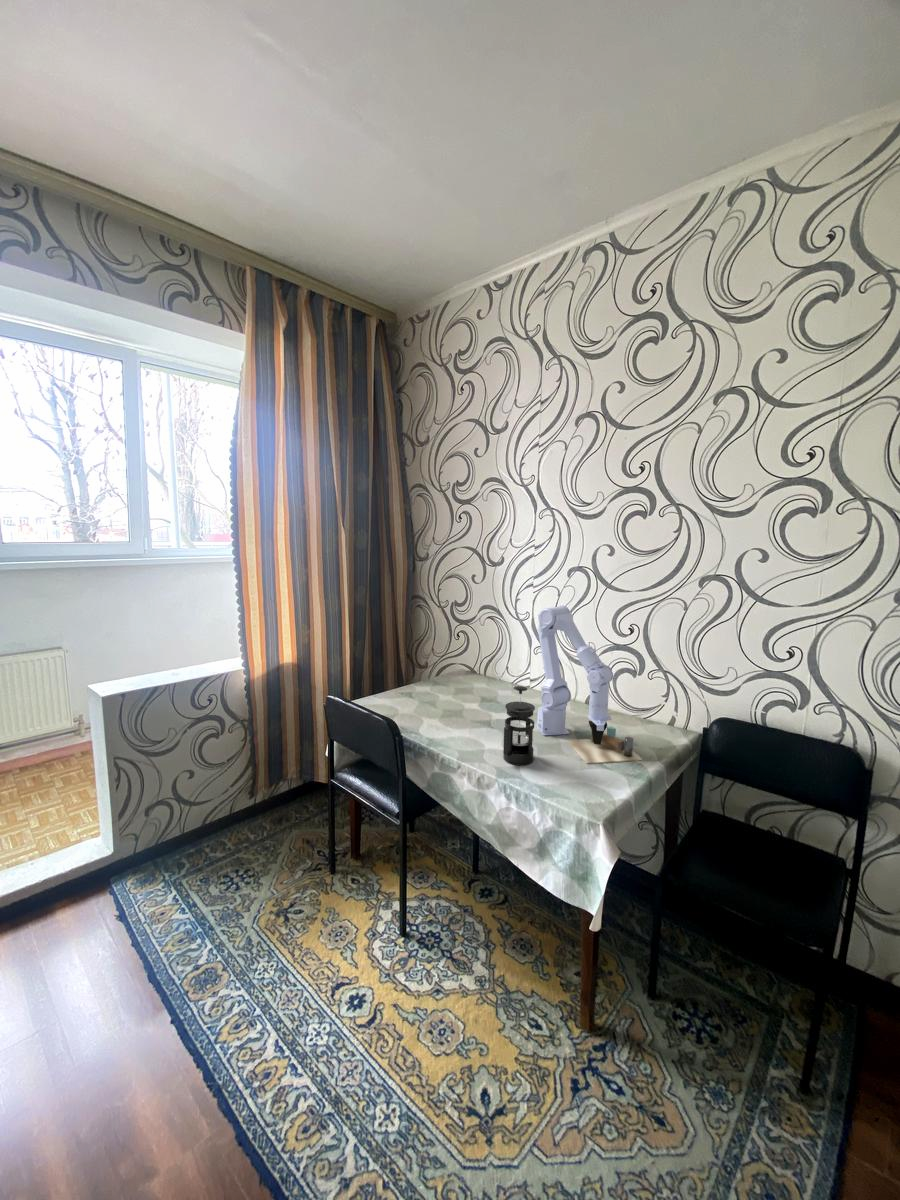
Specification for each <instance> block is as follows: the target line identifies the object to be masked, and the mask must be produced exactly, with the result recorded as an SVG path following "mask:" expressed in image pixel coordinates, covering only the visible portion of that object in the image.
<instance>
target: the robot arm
mask: <svg viewBox="0 0 900 1200" xmlns="http://www.w3.org/2000/svg"><path fill="white" fill-rule="evenodd" d="M537 618H538V628H537V633H538V638H539V645H540V652H541V657H542V658H541V659H542V665H543V669H544V671H543V672H544V677H545V681H544V682H543V684H542V685H541V695H540V700H541V703H542V706H538V708H537V714H536V715H537V719H536V720H537V721H536V728H537V729H538V731H539V732H540V733H541V735H542V736H559V735H570V732H569V731H568V729H566V720H567V719H566V717H567V706H568V703H569V702H570V701H571V699H572V693H571V690H570V688H569V687H568V683H567V681H566V680H565V679H563V678H562V672H561V667H560V659H559V652H558V647H557V641H556V632H558V631H559V632H560V631H561V632H564V634H565V636H566V637H567V638H568V639H569V641H570V642H571V643H572V645H573V646H574V647H575V649H576V657H577V659H578V661H579V662H580V663H581V665H582V666H583V668H584V670H585V671H586V673H587V675H586V680H587V682H588V684H589V704H588V705H589V709H588V711H589V712H588V716H587V718H588V719H589V720H588V725H589V727H590V729H591V733H592V736H593V742H594V744H601V741H602V736H603V733H604V734H605V731H606V730H607V727H608V723H607V722H608V721H611V720H612V717H611V715H609V713H608V711H609V709H608V708H609V694H610V693H609V692H610V682H612V681H613V679H614V673H613V670H612V668H611V667H610V666H608V665H607V664H605V663H604V662H602V660H601V659H600V657H599V655H598V653H597V650H596V649H595V648H594V647H593V646H591V645H587V644H586V641H585V640H584V637H583V636H582V634H581V633H580V630H579V629H578V626H576V623H575V621H574V615H573V614H572V612H571V611H570V609H569V608H568V607H567V606H566V605H559V606H555V607H554V606H552V607H544V608H543V609H542V610H541V611H540V612H539V614H538V615H537Z"/></svg>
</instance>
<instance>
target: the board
mask: <svg viewBox="0 0 900 1200" xmlns="http://www.w3.org/2000/svg"><path fill="white" fill-rule="evenodd" d="M615 738H617V739H620V738H619V737H617V736H615ZM566 742H567V743H568V744H569V746H571V748H572V749H573V750H574V751H575V752H576V753H577V754H578V756H579V757H580V758H581V760H582V761H584V763H586V765H594V764H595V765H596V764H608V763H610V764H611V763H622V762H623V763H624V762H626V763H627V762H637V761H638V762H639V760H641V761H643V759H642V757H640V755H638V754H637V753H636V752H635V751H633V753H632V757H626V756H625V755H624V750H625V746H624V750H623V751H622V752H619V751H616V750H614V749H611V748H609V747H606V746H603V745H601V744H594V742H593V741H591V738H582V739H581V738H579V739H568V740H566Z"/></svg>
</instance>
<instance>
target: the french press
mask: <svg viewBox="0 0 900 1200" xmlns="http://www.w3.org/2000/svg"><path fill="white" fill-rule="evenodd" d="M513 690H515V691H517V692H518V694H519V701H510V702H507V703H506V704H505V709H506V714H507V715H508V716H509V717H507V718H506V719H504V727H503V752H502V753H503V760H504V761H505V763H507V764H509V765H513V766H519V767H520V766H528V765H530V764H532V763H534V760H535V756H534V747H533V741H534V739H533V738H534V737H533V733H534V729H535V721H534V720H533V719H531V717H533V716H534V711H535V710H536V707H535V704H533V703H530V702H526V701H522V694H523V692H525V691H528V687H527V686H525V685H524V686H523V685H516V686H514V687H513ZM515 721H518V726H512V723H511V722H515ZM521 721H523V722H525V727H521ZM516 732H517V733H516ZM515 753H519V754H515Z"/></svg>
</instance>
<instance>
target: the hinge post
mask: <svg viewBox="0 0 900 1200" xmlns="http://www.w3.org/2000/svg"><path fill="white" fill-rule="evenodd" d="M624 742H625V750H624V755H625V756H626V757H632V753H633V752H634V737H631V736H626V737H624Z"/></svg>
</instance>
